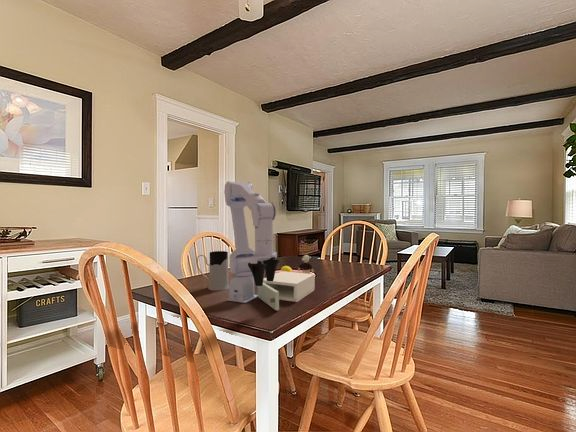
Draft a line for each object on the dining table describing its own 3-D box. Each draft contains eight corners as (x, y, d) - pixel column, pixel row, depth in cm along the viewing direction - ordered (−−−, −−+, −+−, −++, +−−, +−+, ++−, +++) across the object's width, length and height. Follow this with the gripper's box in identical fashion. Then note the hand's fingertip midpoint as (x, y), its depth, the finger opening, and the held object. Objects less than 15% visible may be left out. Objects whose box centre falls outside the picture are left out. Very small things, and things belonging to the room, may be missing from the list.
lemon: (294, 277, 155) (295, 267, 154) (286, 279, 151) (287, 268, 150) (284, 273, 160) (285, 263, 159) (276, 275, 156) (277, 264, 155)
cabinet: (296, 301, 114) (296, 283, 113) (260, 296, 120) (260, 279, 120) (314, 290, 130) (314, 274, 130) (281, 286, 136) (281, 271, 136)
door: (272, 310, 102) (272, 292, 102) (254, 297, 118) (254, 281, 118) (279, 309, 103) (278, 291, 103) (261, 296, 119) (260, 280, 119)
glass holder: (225, 290, 129) (225, 254, 129) (192, 289, 131) (191, 253, 131) (232, 285, 138) (232, 251, 137) (201, 284, 140) (201, 250, 139)
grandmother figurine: (315, 283, 142) (315, 254, 142) (313, 285, 138) (313, 255, 138) (298, 282, 144) (298, 254, 144) (296, 283, 140) (296, 255, 140)
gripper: (264, 242, 93) (265, 289, 93) (284, 239, 106) (285, 279, 106) (243, 242, 96) (244, 287, 96) (265, 238, 109) (266, 278, 109)
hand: (264, 283), depth 101 cm, fingers open, 7 cm apart
